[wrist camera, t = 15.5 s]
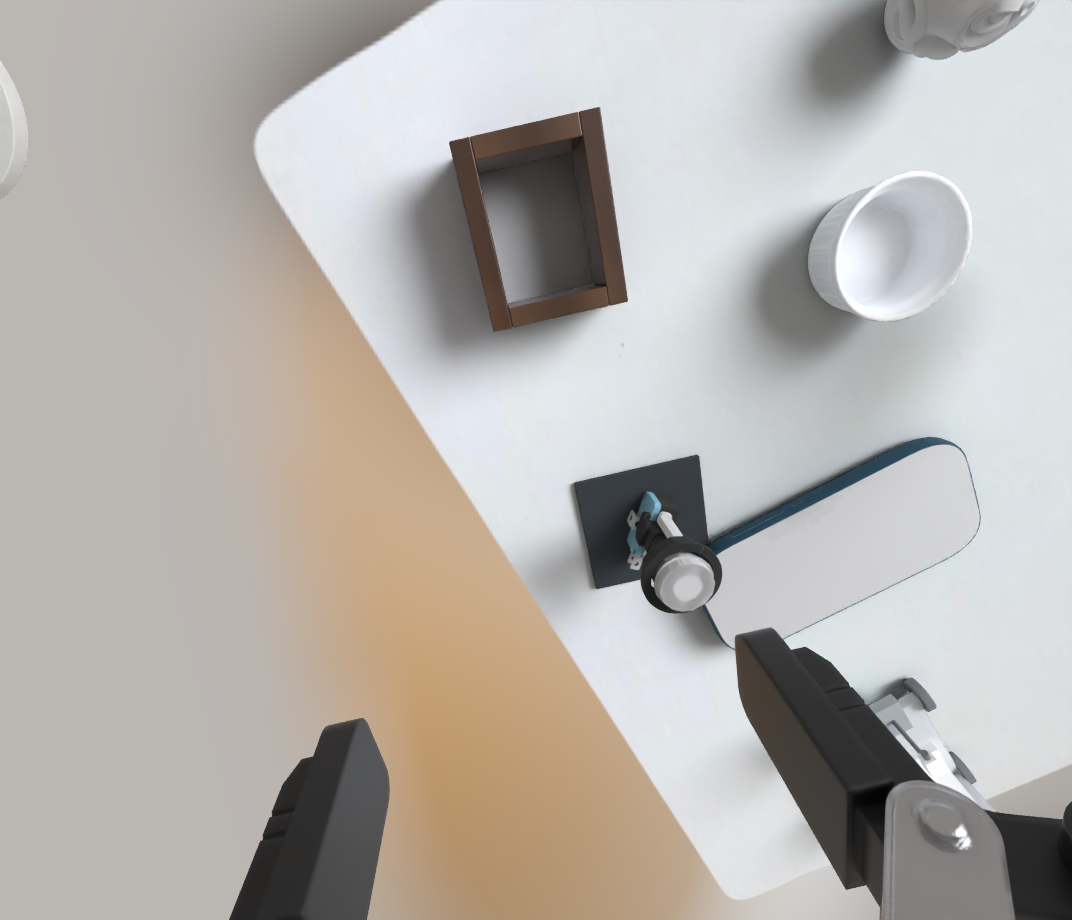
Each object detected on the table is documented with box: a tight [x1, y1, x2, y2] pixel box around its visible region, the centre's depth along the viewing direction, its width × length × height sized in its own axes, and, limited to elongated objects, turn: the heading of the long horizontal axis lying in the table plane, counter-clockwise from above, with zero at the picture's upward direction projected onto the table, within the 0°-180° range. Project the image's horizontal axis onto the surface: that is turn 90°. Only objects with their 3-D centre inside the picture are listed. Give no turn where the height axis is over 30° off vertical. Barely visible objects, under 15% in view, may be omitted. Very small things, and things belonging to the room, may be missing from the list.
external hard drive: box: [698, 437, 981, 650], centre depth 44 cm, size 24×12×2 cm, turn 119°
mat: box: [574, 455, 709, 589], centre depth 43 cm, size 10×10×1 cm
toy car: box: [868, 678, 996, 812], centre depth 50 cm, size 18×10×12 cm
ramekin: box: [808, 171, 972, 322], centre depth 35 cm, size 9×9×4 cm
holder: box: [449, 107, 628, 332], centre depth 33 cm, size 9×11×4 cm
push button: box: [627, 491, 722, 613], centre depth 38 cm, size 7×5×10 cm
